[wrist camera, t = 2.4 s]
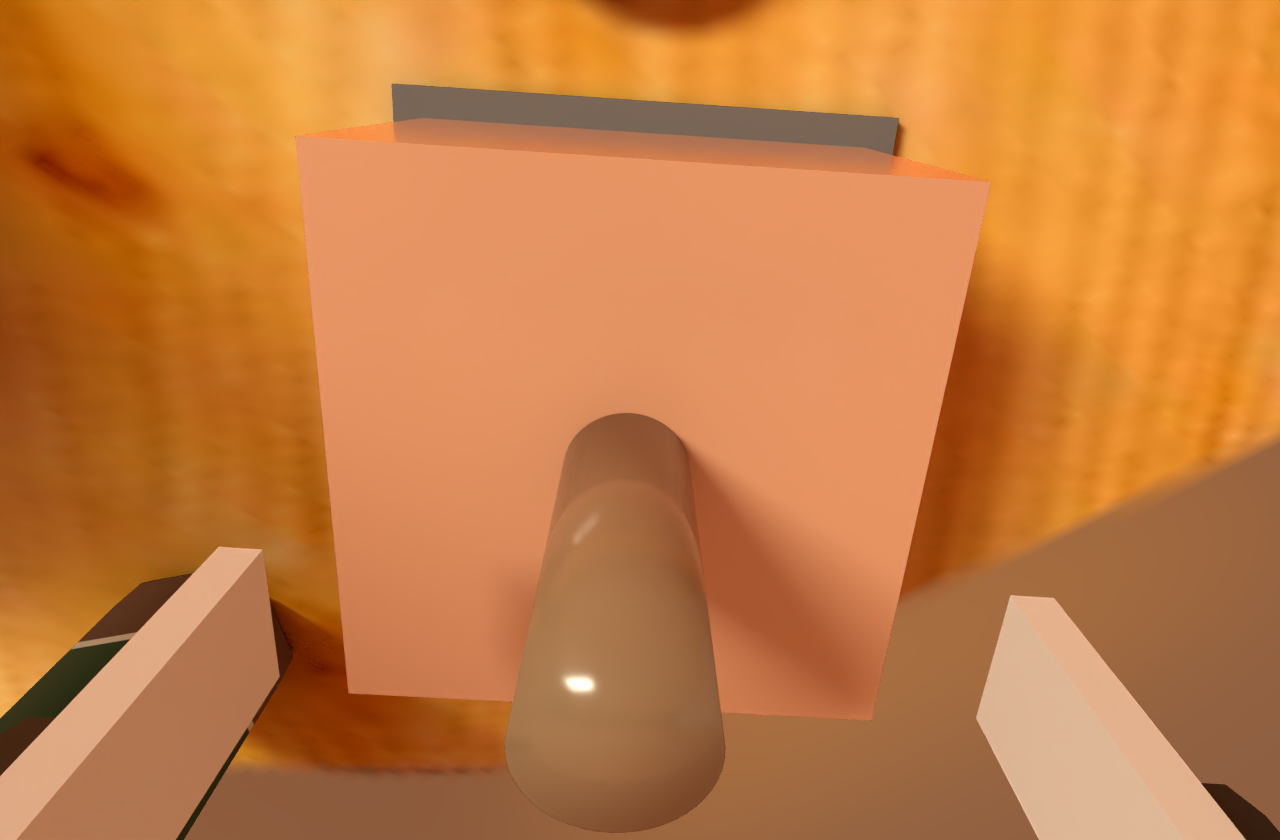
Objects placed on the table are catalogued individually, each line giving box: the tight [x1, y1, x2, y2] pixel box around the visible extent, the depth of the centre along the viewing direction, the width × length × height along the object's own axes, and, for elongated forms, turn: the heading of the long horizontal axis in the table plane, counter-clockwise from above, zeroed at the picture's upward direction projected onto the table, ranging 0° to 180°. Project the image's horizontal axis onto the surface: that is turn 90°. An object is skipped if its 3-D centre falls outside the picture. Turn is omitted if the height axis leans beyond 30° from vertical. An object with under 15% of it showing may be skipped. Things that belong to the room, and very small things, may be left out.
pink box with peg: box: [295, 118, 991, 833], centre depth 21 cm, size 15×15×20 cm
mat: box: [392, 84, 899, 155], centre depth 30 cm, size 17×17×1 cm
